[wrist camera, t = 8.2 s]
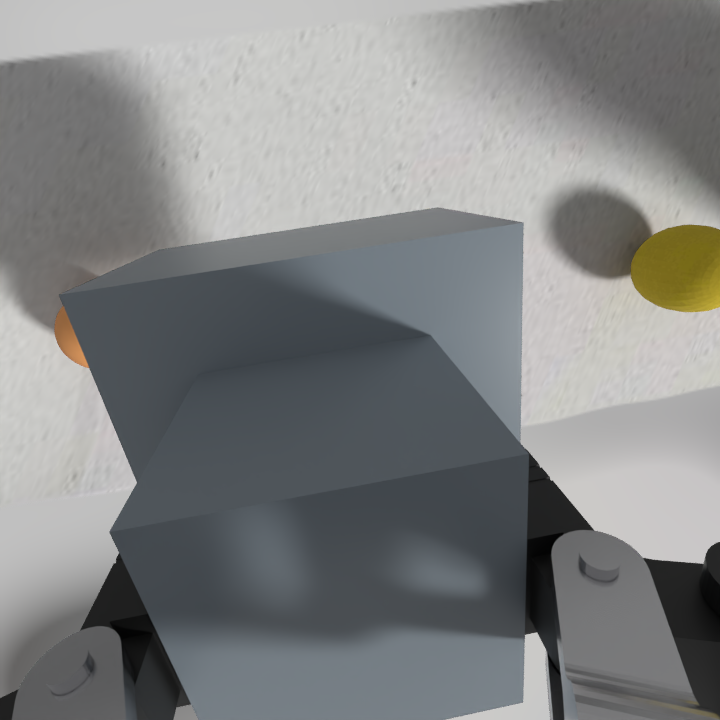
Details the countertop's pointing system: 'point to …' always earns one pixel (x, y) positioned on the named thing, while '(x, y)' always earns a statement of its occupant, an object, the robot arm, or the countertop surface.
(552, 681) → the robot arm
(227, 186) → the countertop surface
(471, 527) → the gray stepped step block
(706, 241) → the lemon
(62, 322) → the brown egg
